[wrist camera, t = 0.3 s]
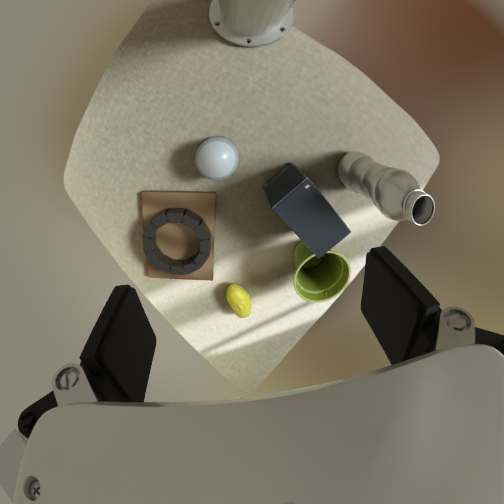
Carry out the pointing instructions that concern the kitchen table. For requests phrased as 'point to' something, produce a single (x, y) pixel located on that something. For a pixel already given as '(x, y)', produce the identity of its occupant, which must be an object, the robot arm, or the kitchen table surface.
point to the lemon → (239, 300)
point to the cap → (217, 158)
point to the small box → (305, 210)
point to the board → (180, 229)
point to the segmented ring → (165, 261)
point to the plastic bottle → (386, 188)
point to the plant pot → (319, 274)
